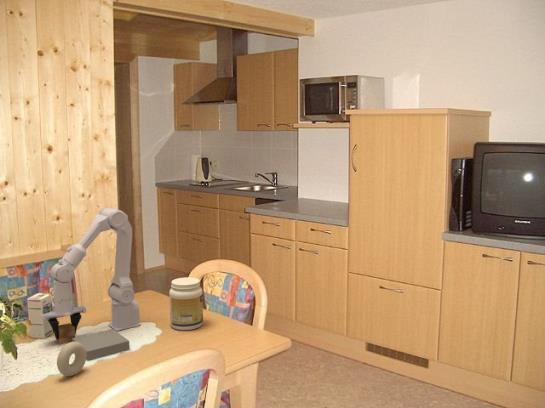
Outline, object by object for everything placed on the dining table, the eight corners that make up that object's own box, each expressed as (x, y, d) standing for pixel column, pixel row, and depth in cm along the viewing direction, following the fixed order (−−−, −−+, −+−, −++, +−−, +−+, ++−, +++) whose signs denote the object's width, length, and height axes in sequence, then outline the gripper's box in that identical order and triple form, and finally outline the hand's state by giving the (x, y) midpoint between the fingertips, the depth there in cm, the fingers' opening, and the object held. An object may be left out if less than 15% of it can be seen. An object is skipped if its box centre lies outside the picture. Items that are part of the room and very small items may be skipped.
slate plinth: (112, 336, 193) (112, 328, 193) (129, 349, 182) (129, 340, 182) (72, 346, 185) (72, 338, 184) (87, 360, 174) (87, 351, 173)
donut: (81, 367, 169) (80, 335, 168) (89, 369, 168) (88, 338, 166) (55, 380, 160) (53, 347, 159) (63, 382, 159) (61, 349, 157)
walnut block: (70, 336, 194) (69, 322, 193) (75, 340, 190) (74, 327, 189) (55, 340, 190) (55, 326, 190) (60, 344, 187) (59, 330, 186)
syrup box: (44, 339, 191) (42, 298, 189) (29, 337, 193) (26, 297, 191) (54, 333, 197) (51, 293, 195) (39, 331, 198) (36, 292, 196)
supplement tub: (207, 328, 202) (207, 283, 199) (175, 333, 196) (174, 287, 194) (197, 317, 213) (196, 274, 210) (166, 322, 207) (164, 278, 205)
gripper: (44, 305, 180) (47, 345, 182) (88, 297, 189) (90, 335, 191) (38, 300, 186) (40, 338, 188) (81, 292, 195) (83, 329, 197)
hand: (65, 336), depth 190 cm, fingers closed on walnut block, 5 cm apart
